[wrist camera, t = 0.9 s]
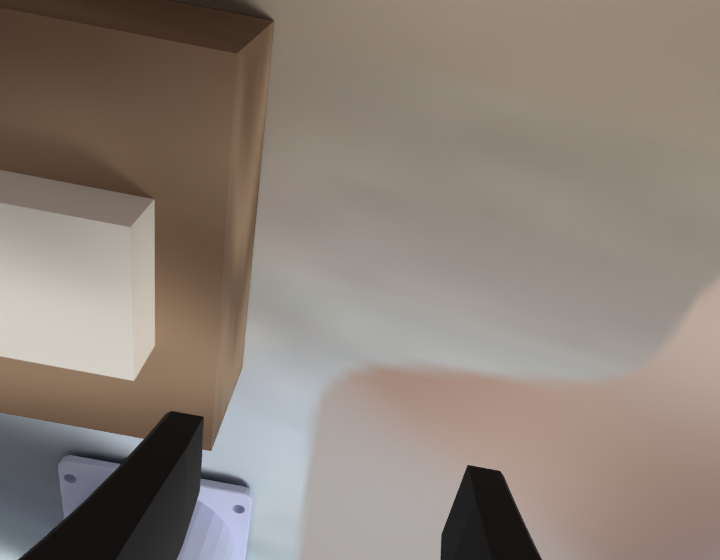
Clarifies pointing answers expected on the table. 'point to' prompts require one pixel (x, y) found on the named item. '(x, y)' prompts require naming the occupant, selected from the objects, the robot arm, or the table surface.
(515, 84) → the table surface
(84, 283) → the cream tile
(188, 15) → the brown block
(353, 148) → the table surface
